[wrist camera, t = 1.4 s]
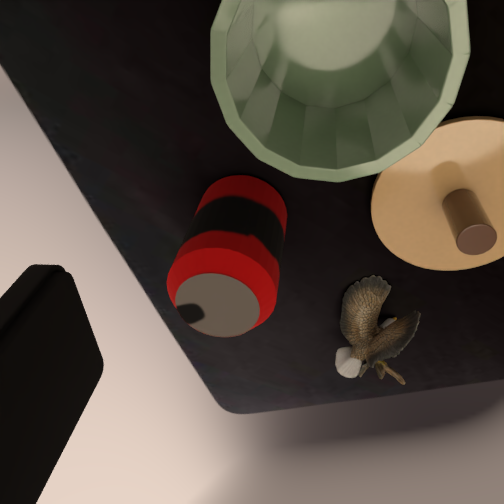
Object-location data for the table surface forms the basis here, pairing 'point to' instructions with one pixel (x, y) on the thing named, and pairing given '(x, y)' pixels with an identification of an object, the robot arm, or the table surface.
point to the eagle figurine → (371, 330)
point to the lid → (446, 197)
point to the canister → (337, 79)
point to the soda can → (230, 258)
